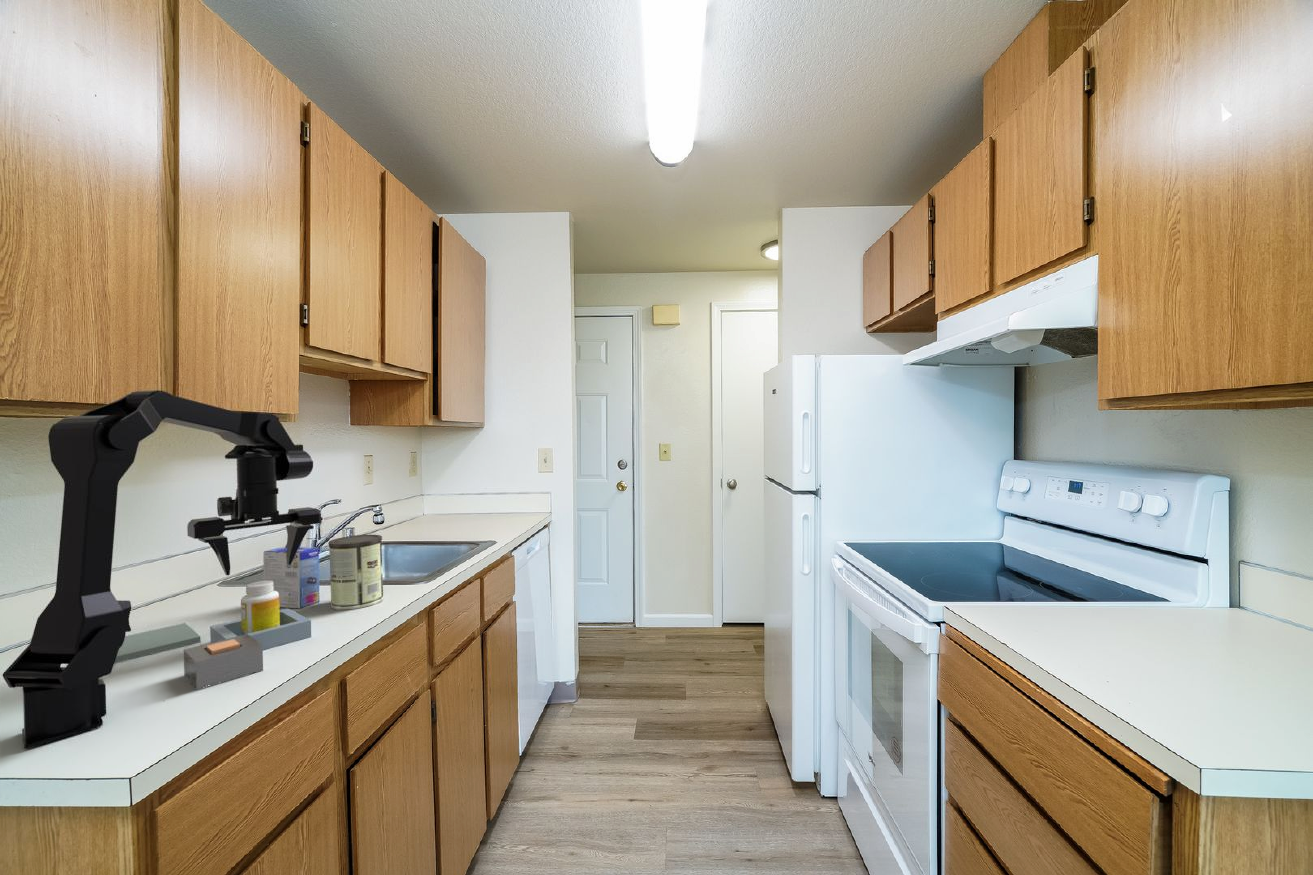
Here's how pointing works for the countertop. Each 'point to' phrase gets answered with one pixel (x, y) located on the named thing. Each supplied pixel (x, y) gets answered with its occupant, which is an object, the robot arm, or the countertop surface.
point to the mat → (156, 641)
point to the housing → (267, 630)
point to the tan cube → (222, 646)
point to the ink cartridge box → (293, 575)
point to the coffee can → (356, 571)
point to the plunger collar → (222, 662)
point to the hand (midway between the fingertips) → (259, 569)
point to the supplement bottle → (259, 607)
